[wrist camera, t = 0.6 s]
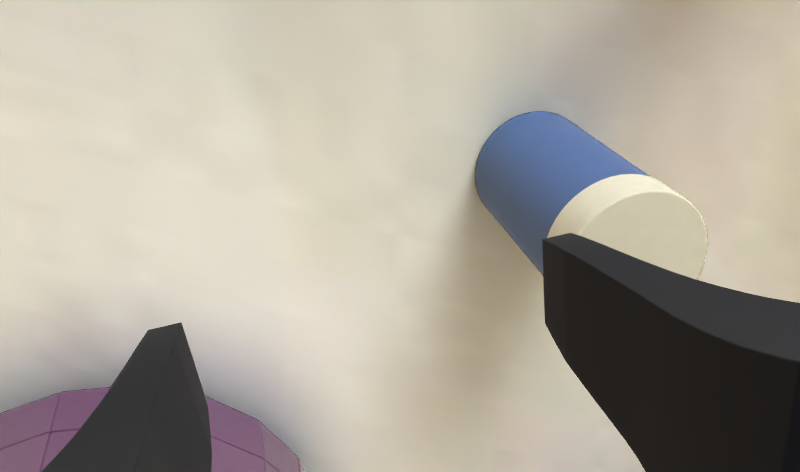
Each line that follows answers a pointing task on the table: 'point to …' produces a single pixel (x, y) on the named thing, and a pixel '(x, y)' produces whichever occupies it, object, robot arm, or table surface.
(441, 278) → the table surface
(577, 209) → the glue stick
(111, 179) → the table surface
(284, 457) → the bowl
